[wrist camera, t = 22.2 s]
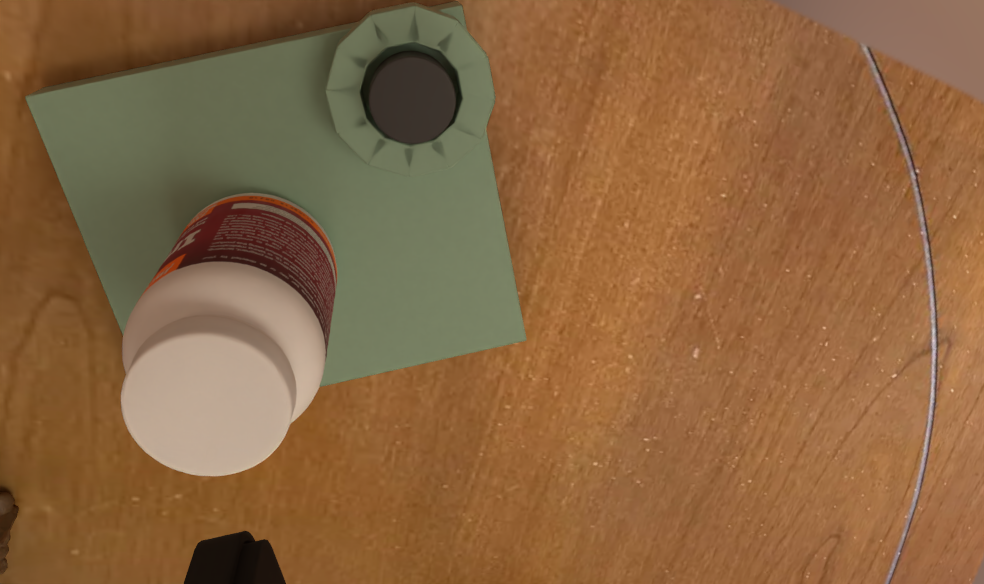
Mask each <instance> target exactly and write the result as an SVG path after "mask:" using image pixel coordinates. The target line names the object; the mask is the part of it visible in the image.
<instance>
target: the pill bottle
mask: <svg viewBox="0 0 984 584" xmlns="http://www.w3.org/2000/svg"><path fill="white" fill-rule="evenodd" d="M336 285H337V264H336V258H335V254H334V250H333V247H332V244H331V242H330V239H329V237H328V236H327V234H326V232H325V231H324V229H323V228H322V226H321V225H320V224H319V223H318V222H317V221H316V220H315V219H314V218H313V217H312V216H311V215H310V214H309V213H308V212H307V211H305V210H304V209H303V208H301V207H300V206H298V205H296V204H294V203H292V202H290V201H288V200H286V199H283V198H280V197H277V196H273V195H269V194H262V193H243V194H236V195H232V196H228V197H225V198H222V199H220V200H218V201H215V202H214V203H212V204H210V205H208V206H207V207H205V208H204V209H203V210H202V211H200V212H199V213H198V214H197V215H196V216H195V217H194V218H193V219H192V220H191V221H190V223H189V224H188V225H187V226H186V228H185V229H184V231H183V232H182V234H181V235H180V237H179V238H178V240H177V242H176V244H175V245H174V247H173V248H172V250H171V251H170V253H169V255H168V256H167V258H166V259H165V261H164V262H163V264H162V265H161V267H160V268H159V270H158V271H157V273H156V275H155V276H154V278H153V279H152V281H151V282H150V284H149V285H148V287H147V288H146V290H145V291H144V293H143V294H142V296H141V297H140V299H139V300H138V302H137V303H136V305H135V307H134V309H133V310H132V312H131V314H130V316H129V319H128V321H127V324H126V327H125V330H124V335H123V343H122V357H123V365H124V369H125V372H126V376H125V379H124V382H123V386H122V391H121V409H122V414H123V418H124V421H125V424H126V426H127V428H128V431H129V432H130V434H131V435H132V437H133V438H134V440H135V441H136V442H137V444H138V445H139V446H140V447H141V448H142V449H143V450H144V451H145V452H146V453H147V454H149V455H150V456H151V457H153V458H154V459H155V460H157V461H158V462H160V463H162V464H164V465H165V466H167V467H170V468H172V469H175V470H177V471H181V472H184V473H188V474H193V475H199V476H223V475H229V474H234V473H238V472H241V471H244V470H246V469H249V468H252V467H254V466H255V465H257V464H259V463H260V462H262V461H264V460H265V459H266V458H267V457H269V456H270V455H271V454H272V453H273V452H274V451H275V450H276V449H277V448H278V446H279V445H280V443H281V442H282V440H283V439H284V437H285V435H286V433H287V431H288V428H289V425H290V424H291V423H292V422H293V421H295V420H296V419H297V418H298V417H299V416H300V415H301V414H302V413H303V412H304V411H305V410H306V408H307V407H308V406H309V404H310V403H311V401H312V400H313V398H314V396H315V394H316V392H317V391H318V389H319V386H320V383H321V380H322V376H323V372H324V366H325V361H326V357H327V348H328V341H329V335H330V327H331V319H332V313H333V306H334V299H335V292H336Z"/></svg>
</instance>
